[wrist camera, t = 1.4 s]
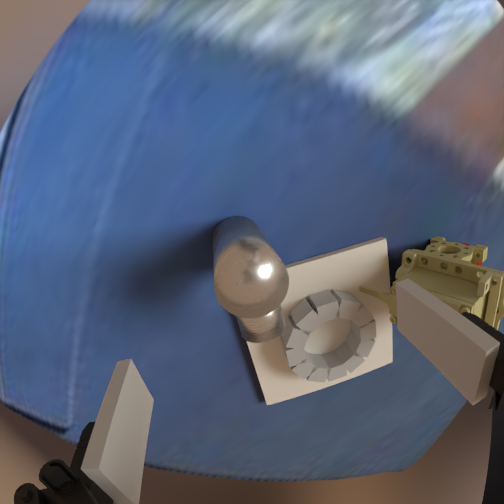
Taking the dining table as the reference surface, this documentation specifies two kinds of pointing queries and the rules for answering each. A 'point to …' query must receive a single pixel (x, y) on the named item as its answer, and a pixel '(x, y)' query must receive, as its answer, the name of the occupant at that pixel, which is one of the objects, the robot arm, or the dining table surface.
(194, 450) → the dining table surface
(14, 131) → the dining table surface
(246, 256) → the elbow
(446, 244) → the mechanical component
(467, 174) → the dining table surface
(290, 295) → the plate
